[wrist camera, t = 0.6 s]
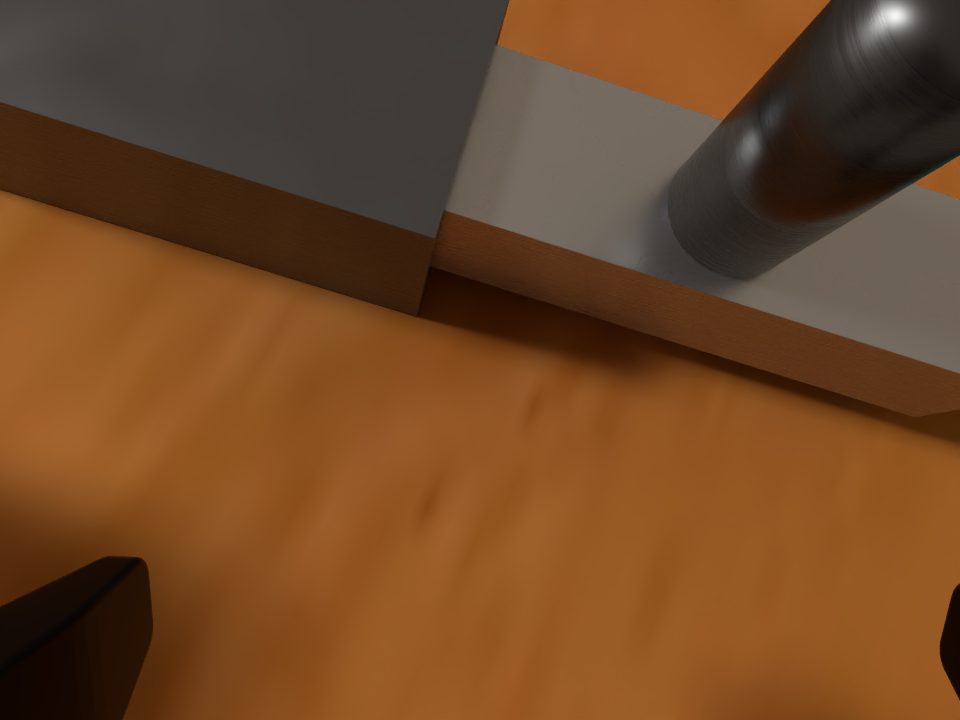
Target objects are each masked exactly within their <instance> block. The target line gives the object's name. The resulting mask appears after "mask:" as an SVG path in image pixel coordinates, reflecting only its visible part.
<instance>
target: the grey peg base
mask: <svg viewBox="0 0 960 720" xmlns="http://www.w3.org/2000/svg"><path fill="white" fill-rule="evenodd" d="M959 155H960V0H831V1H830V2H829V3H828V4H827V5H826V6H825V8H824V9H823V10H822V11H821V12H820V13H819V14H818V15H817V16H816V18H815V19H814V20H813V21H812V22H811V23H810V24H809V25H808V26H807V28H806V29H805V30H804V31H803V32H802V33H801V34H800V35H799V36H798V38H797V39H796V40H795V41H794V42H793V43H792V44H791V45H790V46H789V48H788V49H787V50H786V51H785V52H784V53H783V54H782V55H781V56H780V58H779V59H778V60H777V61H776V62H775V63H774V64H773V65H772V66H771V68H770V69H769V70H768V71H767V72H766V73H765V74H764V75H763V76H762V78H761V79H760V80H759V81H758V82H757V83H756V84H755V85H754V86H753V88H752V89H751V90H750V91H749V92H748V93H747V94H746V95H745V96H744V98H743V99H742V100H741V101H740V102H739V103H738V104H737V105H736V106H735V108H734V109H733V110H732V111H731V112H730V113H729V114H728V115H727V116H726V118H725V119H724V120H720V119H717V118H714V117H711V116H708V115H705V114H702V113H699V112H696V111H693V110H690V109H687V108H684V107H681V106H678V105H675V104H672V103H669V102H666V101H663V100H660V99H657V98H654V97H651V96H648V95H645V94H642V93H639V92H636V91H633V90H630V89H627V88H624V87H621V86H618V85H615V84H612V83H609V82H606V81H603V80H600V79H597V78H594V77H591V76H588V75H585V74H582V73H579V72H576V71H573V70H570V69H567V68H564V67H561V66H558V65H555V64H552V63H549V62H546V61H543V60H540V59H537V58H534V57H531V56H528V55H525V54H522V53H519V52H516V51H513V50H510V49H507V48H504V47H501V46H498V45H495V48H494V51H493V54H492V58H491V61H490V64H489V67H488V71H487V74H486V77H485V80H484V84H483V87H482V90H481V93H480V97H479V100H478V103H477V106H476V109H475V113H474V116H473V119H472V122H471V126H470V129H469V132H468V135H467V139H466V142H465V145H464V148H463V152H462V155H461V158H460V161H459V164H458V168H457V171H456V174H455V177H454V181H453V184H452V187H451V190H450V194H449V197H448V200H447V203H446V207H445V210H444V213H443V216H442V220H441V224H440V228H439V232H438V236H437V241H436V245H435V249H434V253H433V257H432V261H431V266H430V267H434V268H437V269H440V270H443V271H447V272H450V273H453V274H456V275H459V276H463V277H466V278H469V279H472V280H475V281H479V282H482V283H485V284H488V285H492V286H495V287H498V288H501V289H504V290H508V291H511V292H514V293H517V294H520V295H524V296H527V297H530V298H533V299H537V300H540V301H543V302H546V303H549V304H553V305H556V306H559V307H562V308H565V309H569V310H572V311H575V312H578V313H582V314H585V315H588V316H591V317H594V318H598V319H601V320H604V321H607V322H610V323H614V324H617V325H620V326H623V327H627V328H630V329H633V330H636V331H639V332H643V333H646V334H649V335H652V336H655V337H659V338H662V339H665V340H668V341H672V342H675V343H678V344H681V345H684V346H688V347H691V348H694V349H697V350H700V351H704V352H707V353H710V354H713V355H716V356H720V357H723V358H726V359H729V360H733V361H736V362H739V363H742V364H745V365H749V366H752V367H755V368H758V369H761V370H765V371H768V372H771V373H774V374H778V375H781V376H784V377H787V378H790V379H794V380H797V381H800V382H803V383H806V384H810V385H813V386H816V387H819V388H823V389H826V390H829V391H832V392H835V393H839V394H842V395H845V396H848V397H851V398H855V399H858V400H861V401H864V402H868V403H871V404H874V405H877V406H880V407H884V408H887V409H890V410H893V411H896V412H900V413H903V414H906V415H909V416H913V417H919V416H925V415H930V414H936V413H942V412H948V411H954V410H959V409H960V200H959V199H956V198H953V197H950V196H947V195H944V194H941V193H938V192H935V191H932V190H929V189H926V188H923V187H920V186H917V185H914V184H913V183H914V182H916V181H918V180H919V179H921V178H923V177H924V176H926V175H928V174H929V173H931V172H933V171H934V170H936V169H938V168H939V167H941V166H943V165H944V164H946V163H947V162H949V161H951V160H952V159H954V158H956V157H957V156H959Z"/></svg>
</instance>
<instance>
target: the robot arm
mask: <svg viewBox="0 0 960 720" xmlns="http://www.w3.org/2000/svg"><path fill="white" fill-rule="evenodd" d="M152 632H153V617H152V606H151V594H150V583H149V572H148V567H147V565H146V562H145V561H144V560H143V559H142V558H139V557H124V556H107V557H103V558H101V559H98V560H96V561H94V562H92V563H90V564H88V565H86V566H84V567H82V568H80V569H78V570H76V571H73V572H71V573H69V574H67V575H65V576H63V577H61V578H59V579H57V580H55V581H53V582H51V583H48V584H46V585H44V586H42V587H40V588H38V589H36V590H34V591H32V592H30V593H28V594H26V595H24V596H21V597H19V598H17V599H15V600H13V601H11V602H9V603H7V604H5V605H3V606H1V607H0V720H123V718H124V715H125V712H126V710H127V707H128V704H129V701H130V699H131V696H132V693H133V690H134V688H135V685H136V682H137V679H138V677H139V674H140V671H141V668H142V666H143V663H144V660H145V657H146V655H147V652H148V649H149V646H150V643H151V638H152ZM940 658H941V662H942V665H943V668H944V670H945V672H946V674H947V676H948V678H949V680H950V682H951V684H952V686H953V688H954V690H955V692H956V694H957V696H958V698H959V700H960V584H958V585H957V586H956V588H955V589H954V590H953V593H952V596H951V600H950V604H949V608H948V612H947V616H946V620H945V624H944V628H943V632H942V636H941V640H940Z"/></svg>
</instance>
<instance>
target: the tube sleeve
mask: <svg viewBox="0 0 960 720" xmlns="http://www.w3.org/2000/svg"><path fill="white" fill-rule="evenodd" d="M508 3H509V0H0V189H1V190H4V191H8V192H11V193H14V194H17V195H21V196H24V197H27V198H30V199H34V200H37V201H40V202H43V203H47V204H50V205H53V206H57V207H60V208H63V209H66V210H70V211H73V212H76V213H79V214H83V215H86V216H89V217H92V218H96V219H99V220H102V221H106V222H109V223H112V224H115V225H119V226H122V227H125V228H128V229H132V230H135V231H138V232H142V233H145V234H148V235H151V236H155V237H158V238H161V239H164V240H168V241H171V242H174V243H177V244H181V245H184V246H187V247H191V248H194V249H197V250H200V251H204V252H207V253H210V254H213V255H217V256H220V257H223V258H226V259H230V260H233V261H236V262H240V263H243V264H246V265H249V266H253V267H256V268H259V269H262V270H266V271H269V272H272V273H275V274H279V275H282V276H285V277H289V278H292V279H295V280H298V281H302V282H305V283H308V284H311V285H315V286H318V287H321V288H325V289H328V290H331V291H334V292H338V293H341V294H344V295H347V296H351V297H354V298H357V299H360V300H364V301H367V302H370V303H374V304H377V305H380V306H383V307H387V308H390V309H393V310H396V311H400V312H403V313H406V314H409V315H413V316H416V317H417V314H418V311H419V307H420V304H421V301H422V298H423V294H424V291H425V288H426V284H427V281H428V278H429V275H430V271H431V268H432V267H430V266H431V261H432V257H433V253H434V249H435V245H436V241H437V236H438V232H439V228H440V224H441V220H442V216H443V213H444V210H445V207H446V203H447V200H448V197H449V194H450V190H451V187H452V184H453V181H454V177H455V174H456V171H457V168H458V164H459V161H460V158H461V155H462V152H463V148H464V145H465V142H466V139H467V135H468V132H469V129H470V126H471V122H472V119H473V116H474V113H475V109H476V106H477V103H478V100H479V97H480V93H481V90H482V87H483V84H484V80H485V77H486V74H487V71H488V67H489V64H490V61H491V58H492V54H493V51H494V48H495V45H497V44H498V40H499V37H500V33H501V29H502V26H503V22H504V18H505V15H506V11H507V7H508Z"/></svg>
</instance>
